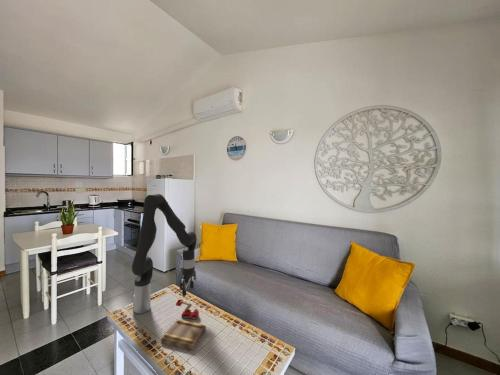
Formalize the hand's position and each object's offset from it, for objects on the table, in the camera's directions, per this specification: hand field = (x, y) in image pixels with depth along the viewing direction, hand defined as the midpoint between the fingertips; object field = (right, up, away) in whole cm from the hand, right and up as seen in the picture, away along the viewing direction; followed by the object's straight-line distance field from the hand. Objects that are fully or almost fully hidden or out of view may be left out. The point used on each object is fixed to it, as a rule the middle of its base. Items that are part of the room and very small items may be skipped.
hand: (188, 291), depth 126 cm
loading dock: (+3, -16, -16) cm, 23 cm away
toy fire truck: (-1, -16, +1) cm, 16 cm away
